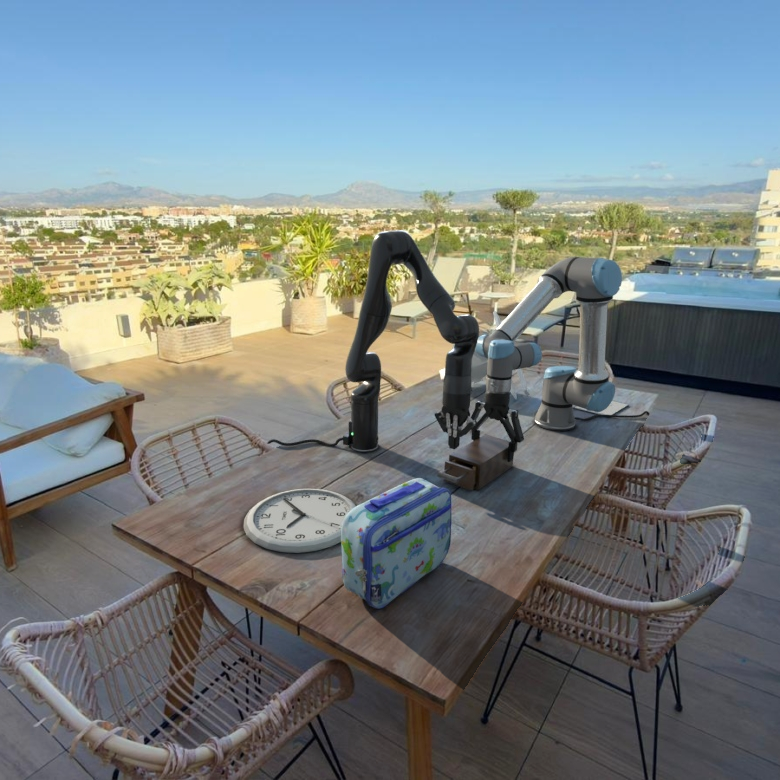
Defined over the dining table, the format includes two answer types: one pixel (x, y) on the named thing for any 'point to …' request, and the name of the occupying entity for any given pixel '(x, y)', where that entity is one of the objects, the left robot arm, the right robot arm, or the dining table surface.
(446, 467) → the drawer
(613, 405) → the invitation card
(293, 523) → the wall clock
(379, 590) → the lunch box
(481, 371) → the white plastic object
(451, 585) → the dining table surface
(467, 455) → the cabinet
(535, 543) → the dining table surface
